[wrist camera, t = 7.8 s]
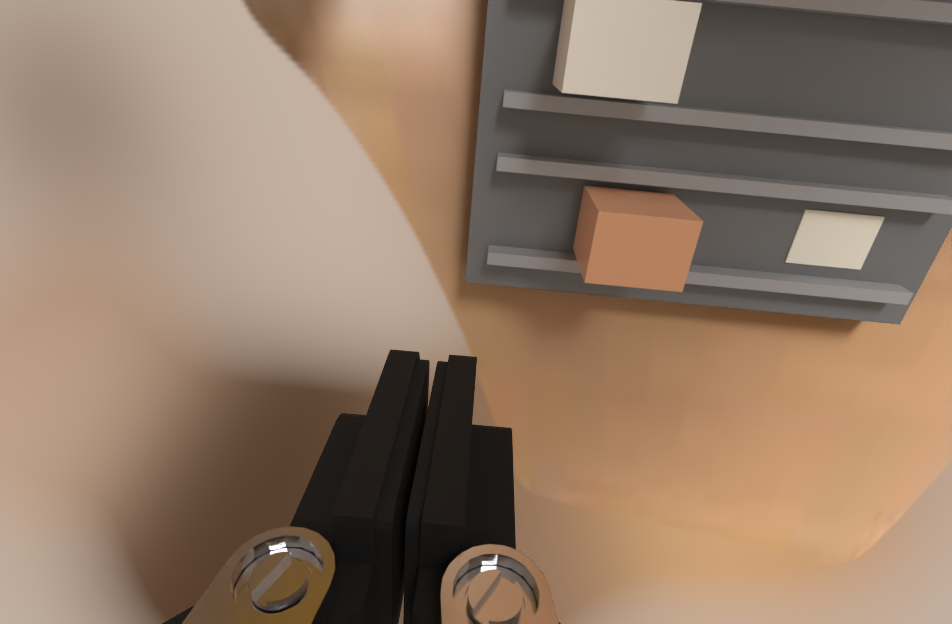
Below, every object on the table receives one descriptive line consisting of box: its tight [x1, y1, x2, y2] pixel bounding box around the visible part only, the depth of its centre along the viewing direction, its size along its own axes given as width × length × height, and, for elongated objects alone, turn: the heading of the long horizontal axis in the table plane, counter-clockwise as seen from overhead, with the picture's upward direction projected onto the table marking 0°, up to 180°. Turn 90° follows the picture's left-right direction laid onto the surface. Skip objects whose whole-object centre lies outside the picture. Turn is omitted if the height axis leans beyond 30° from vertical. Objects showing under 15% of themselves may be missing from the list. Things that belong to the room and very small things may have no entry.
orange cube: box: [573, 185, 703, 292], centre depth 22 cm, size 3×4×4 cm
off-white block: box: [552, 0, 702, 104], centre depth 19 cm, size 3×4×4 cm
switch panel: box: [465, 0, 952, 324], centre depth 23 cm, size 15×22×3 cm
